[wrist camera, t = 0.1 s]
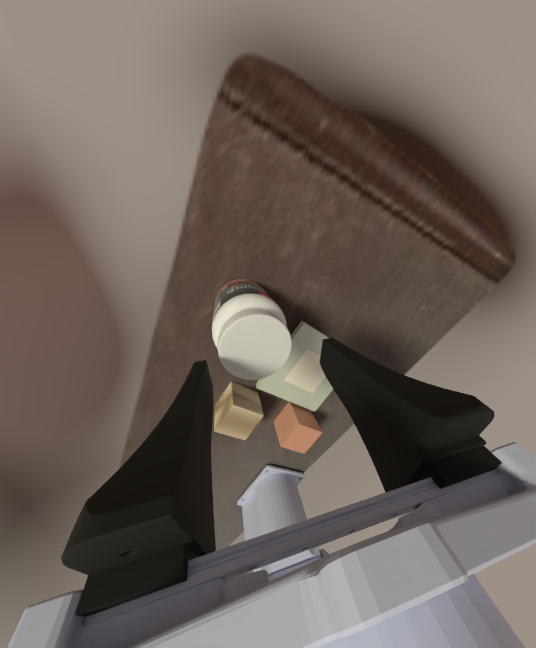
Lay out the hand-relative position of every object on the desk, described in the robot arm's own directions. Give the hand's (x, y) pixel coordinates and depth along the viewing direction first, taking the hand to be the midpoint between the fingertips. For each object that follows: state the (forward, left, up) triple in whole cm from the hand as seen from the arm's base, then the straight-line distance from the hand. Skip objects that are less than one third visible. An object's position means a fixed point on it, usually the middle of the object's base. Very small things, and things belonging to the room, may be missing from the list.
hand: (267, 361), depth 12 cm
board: (-3, -11, -11) cm, 16 cm away
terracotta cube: (-10, -14, -11) cm, 21 cm away
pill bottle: (0, +1, -11) cm, 11 cm away
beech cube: (-11, -5, -11) cm, 16 cm away
